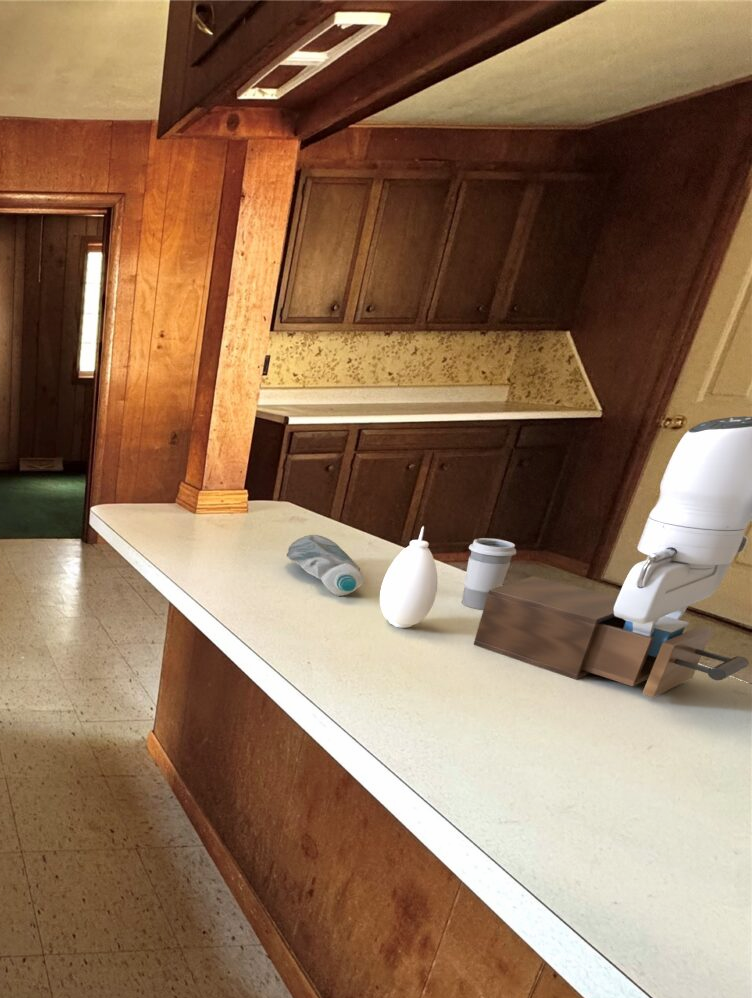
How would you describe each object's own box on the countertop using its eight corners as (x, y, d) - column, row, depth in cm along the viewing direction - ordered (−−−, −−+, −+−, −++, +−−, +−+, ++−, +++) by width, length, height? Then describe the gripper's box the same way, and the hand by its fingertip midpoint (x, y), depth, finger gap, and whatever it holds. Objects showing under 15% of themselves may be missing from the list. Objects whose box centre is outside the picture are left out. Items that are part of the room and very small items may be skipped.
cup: (467, 595, 127) (483, 535, 122) (507, 606, 121) (526, 544, 117) (446, 603, 124) (462, 541, 119) (486, 614, 118) (505, 550, 114)
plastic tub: (677, 651, 92) (689, 622, 90) (660, 659, 90) (672, 630, 88) (631, 638, 96) (641, 610, 95) (614, 645, 94) (624, 617, 93)
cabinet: (619, 660, 101) (641, 602, 97) (575, 679, 96) (597, 619, 92) (516, 628, 112) (533, 575, 109) (473, 644, 107) (488, 589, 104)
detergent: (278, 560, 149) (303, 598, 126) (285, 529, 146) (312, 562, 124) (341, 567, 146) (379, 608, 124) (350, 536, 143) (390, 572, 121)
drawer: (740, 692, 89) (765, 640, 87) (702, 714, 85) (727, 660, 82) (583, 644, 104) (599, 599, 101) (543, 661, 100) (559, 613, 97)
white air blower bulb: (427, 638, 110) (453, 534, 103) (372, 629, 114) (394, 529, 107) (426, 622, 116) (451, 523, 109) (374, 614, 120) (395, 518, 113)
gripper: (683, 562, 81) (643, 663, 86) (754, 537, 89) (714, 630, 94) (617, 549, 86) (583, 645, 91) (689, 526, 94) (655, 615, 99)
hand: (650, 637), depth 92 cm, fingers closed on plastic tub, 4 cm apart
